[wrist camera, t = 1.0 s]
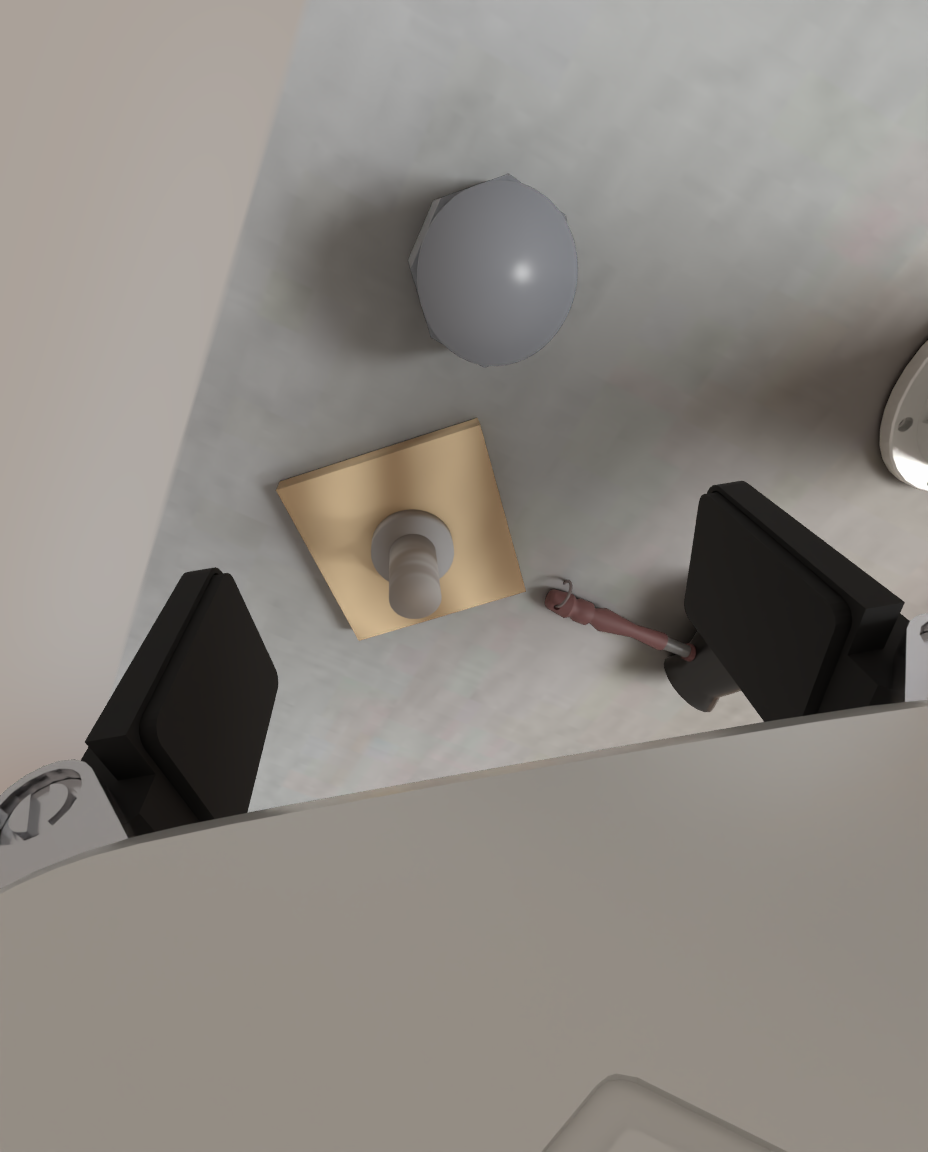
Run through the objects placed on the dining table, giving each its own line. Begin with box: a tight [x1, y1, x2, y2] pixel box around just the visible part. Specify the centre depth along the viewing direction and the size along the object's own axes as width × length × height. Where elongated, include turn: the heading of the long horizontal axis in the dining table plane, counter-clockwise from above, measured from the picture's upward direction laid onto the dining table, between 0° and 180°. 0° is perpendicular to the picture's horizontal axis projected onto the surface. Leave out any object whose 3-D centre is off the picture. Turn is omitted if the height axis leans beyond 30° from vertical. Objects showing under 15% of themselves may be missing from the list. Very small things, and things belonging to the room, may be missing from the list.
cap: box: [408, 174, 578, 367], centre depth 23 cm, size 6×6×6 cm
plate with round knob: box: [276, 418, 526, 641], centre depth 31 cm, size 12×12×7 cm
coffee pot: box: [545, 580, 741, 712], centre depth 37 cm, size 8×18×8 cm
